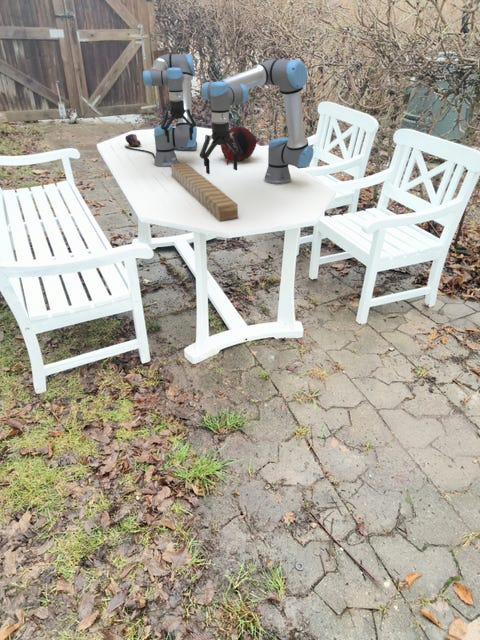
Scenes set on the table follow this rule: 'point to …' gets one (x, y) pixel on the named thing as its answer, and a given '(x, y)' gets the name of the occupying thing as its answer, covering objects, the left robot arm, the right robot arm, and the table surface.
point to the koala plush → (187, 148)
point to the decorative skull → (245, 142)
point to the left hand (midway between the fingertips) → (179, 141)
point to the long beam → (205, 192)
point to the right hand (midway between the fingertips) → (221, 171)
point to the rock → (132, 140)
